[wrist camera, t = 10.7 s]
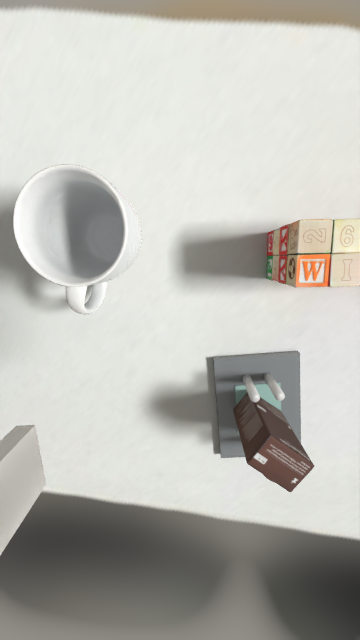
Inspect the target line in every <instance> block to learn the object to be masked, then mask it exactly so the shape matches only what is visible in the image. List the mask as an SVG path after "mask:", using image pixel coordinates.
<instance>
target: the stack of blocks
mask: <svg viewBox="0 0 360 640" xmlns="http://www.w3.org/2000/svg"><path fill="white" fill-rule="evenodd" d="M266 278H267V279H270V280H275V281H278V282H279V283H283V284H287V285H290V286H293V287H327V286H328V287H343V286H360V219H336V220H332V219H319V220H299V221H296V222H294V223H292V224H288V225H285V226H283V227H281V228H279V229H277V230H273V231H271V232H268V248H267V277H266Z"/></svg>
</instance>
